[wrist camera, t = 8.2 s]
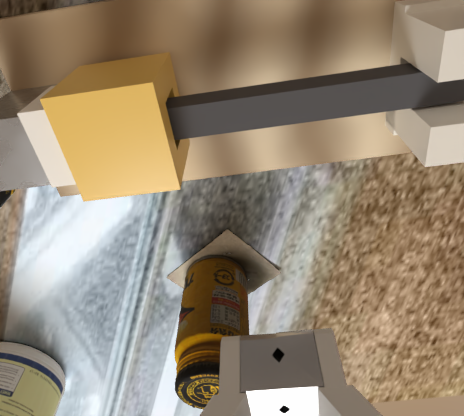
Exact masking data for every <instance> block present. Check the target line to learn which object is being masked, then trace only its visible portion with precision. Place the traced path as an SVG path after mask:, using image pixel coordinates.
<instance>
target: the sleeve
mask: <svg viewBox="0 0 464 416" xmlns="http://www.w3.org/2000/svg"><path fill="white" fill-rule="evenodd" d="M178 96H179V92H178V88H177V83H176V79H175V74H174V70H173V65H172V61H171V56H170V52H167V53H160V54H154V55H147V56H141V57H134V58H128V59H122V60H115V61H109V62H102V63H96V64H89V65H83V66H79V67H78V68H77V69H75V70H74V71H73V72H72V73H70V74H69V75H68V76H67V77H66V78H64V79H63V80H62V81H61V82H60V83H58V84H57V85H56V86H55V87H54V88H52V89H51V90H50V91H49V92H48V93H46V94H45V95H44V96H43V97H42V98H40V101H41V104H42V106H43V108H44V111H45V113H46V115H47V118H48V120H49V122H50V124H51V127H52V129H53V131H54V134H55V136H56V138H57V141H58V143H59V145H60V148H61V150H62V152H63V155H64V157H65V159H66V162H67V164H68V166H69V169H70V171H71V173H72V175H73V178H74V180H75V182H76V185H77V187H78V189H79V192H80V194H81V196H82V199H83V201H91V200H99V199H107V198H115V197H123V196H132V195H140V194H148V193H156V192H164V191H172V190H180V189H181V184H182V179H183V174H184V169H185V165H186V160H187V155H188V150H189V146H190V141H189V138H188V139H180V140H174V136H173V132H172V128H171V124H170V120H169V115H168V111H167V107H166V101H167V98H171V97H178Z"/></svg>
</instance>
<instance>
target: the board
mask: <svg viewBox="0 0 464 416" xmlns="http://www.w3.org/2000/svg"><path fill="white" fill-rule="evenodd" d="M396 1H402V0H105V1H99V2H93V3H87V4H81V5H75V6H69V7H63V8H57V9H51V10H45V11H39V12H33V13H27V14H21V15H15V16H9V17H4V18H0V68H1V70H2V72H3V74H4V77H5V79H6V81H7V83H8V85H9V87H10V89H11V91H14V90H21V89H27V88H34V87H41V86H47V85H54V84H58V83H60V82H61V81H62V80H63V79H64V78H66V77H67V76H68V75H69V74H70V73H72V72H73V71H74V70H75V69H77V68H78V67H79V66H83V65H89V64H96V63H102V62H109V61H115V60H122V59H128V58H134V57H141V56H147V55H154V54H160V53H167V52H170V56H171V61H172V65H173V70H174V74H175V79H176V83H177V88H178V92H179V96H185V95H191V94H198V93H205V92H212V91H219V90H226V89H233V88H240V87H247V86H254V85H261V84H267V83H274V82H281V81H288V80H295V79H302V78H309V77H316V76H323V75H330V74H337V73H344V72H350V71H357V70H364V69H371V68H378V67H385V66H390V55H391V43H392V30H393V18H394V5H395V2H396ZM385 118H386V112H380V113H373V114H365V115H358V116H350V117H343V118H336V119H328V120H321V121H313V122H306V123H299V124H291V125H284V126H276V127H269V128H262V129H254V130H247V131H239V132H232V133H225V134H217V135H210V136H203V137H195V138H189V141H190V146H189V150H188V155H187V160H186V165H185V169H184V174H183V179H182V181H188V180H196V179H204V178H212V177H220V176H228V175H236V174H244V173H252V172H260V171H268V170H276V169H284V168H291V167H299V166H307V165H315V164H323V163H331V162H339V161H347V160H355V159H363V158H371V157H379V156H387V155H395V154H402V153H410V152H412V151H411V150H410V149H409V147H408V146H407V145H406V144H405V143H404V141H403V140H402V139H401V138H400V137H399V136H398V135H393V134H392V133H391V132H390V131H389V130H388V128H387V127H386V126H385ZM56 188H57V190H58V192H59V194H60V196H61V197H62V196H69V195H77V194H80V192H79V189H78V187H77V185H76V184H75V185H67V186H60V187H56Z"/></svg>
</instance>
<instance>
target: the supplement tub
mask: <svg viewBox="0 0 464 416" xmlns="http://www.w3.org/2000/svg"><path fill="white" fill-rule="evenodd" d="M65 383H66V381H65V375H64V373H63V370H62V369H61V367H60V366H59V365H58V363H57V362H56V361H55V360H53V359H52V358H51V357H50V356H48V355H47V354H45V353H43V352H41V351H39V350H37V349H35V348H32V347H30V346H26V345H23V344H18V343H12V342H0V416H55V415H56V412H57V409H58V406H59V404H60V401H61V398H62V396H63V394H64V391H65Z"/></svg>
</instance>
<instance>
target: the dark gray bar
mask: <svg viewBox="0 0 464 416" xmlns="http://www.w3.org/2000/svg"><path fill="white" fill-rule="evenodd" d="M461 101H464V79H460V80H453V81H446V82H439V83H437V82H436V81H435V80H433V79H432V78H430V77H429V76H427V75H426V74H425V73H423V72H422V71H420V70H419V69H417V68H416V67H415V66H413V65H412V64H410V63H406V64H399V65H392V66H385V67H378V68H371V69H364V70H357V71H350V72H344V73H337V74H330V75H323V76H316V77H309V78H302V79H295V80H288V81H281V82H274V83H267V84H261V85H254V86H247V87H240V88H233V89H226V90H219V91H212V92H205V93H198V94H191V95H185V96H178V97H171V98H167V101H166V107H167V111H168V115H169V120H170V124H171V128H172V132H173V136H174V140H180V139H188V138H195V137H203V136H210V135H217V134H225V133H232V132H239V131H247V130H254V129H262V128H269V127H276V126H284V125H291V124H299V123H306V122H313V121H321V120H328V119H336V118H343V117H350V116H358V115H365V114H373V113H380V112H387V111H395V110H402V109H410V108H417V107H424V106H432V105H439V104H447V103H454V102H461Z"/></svg>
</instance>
